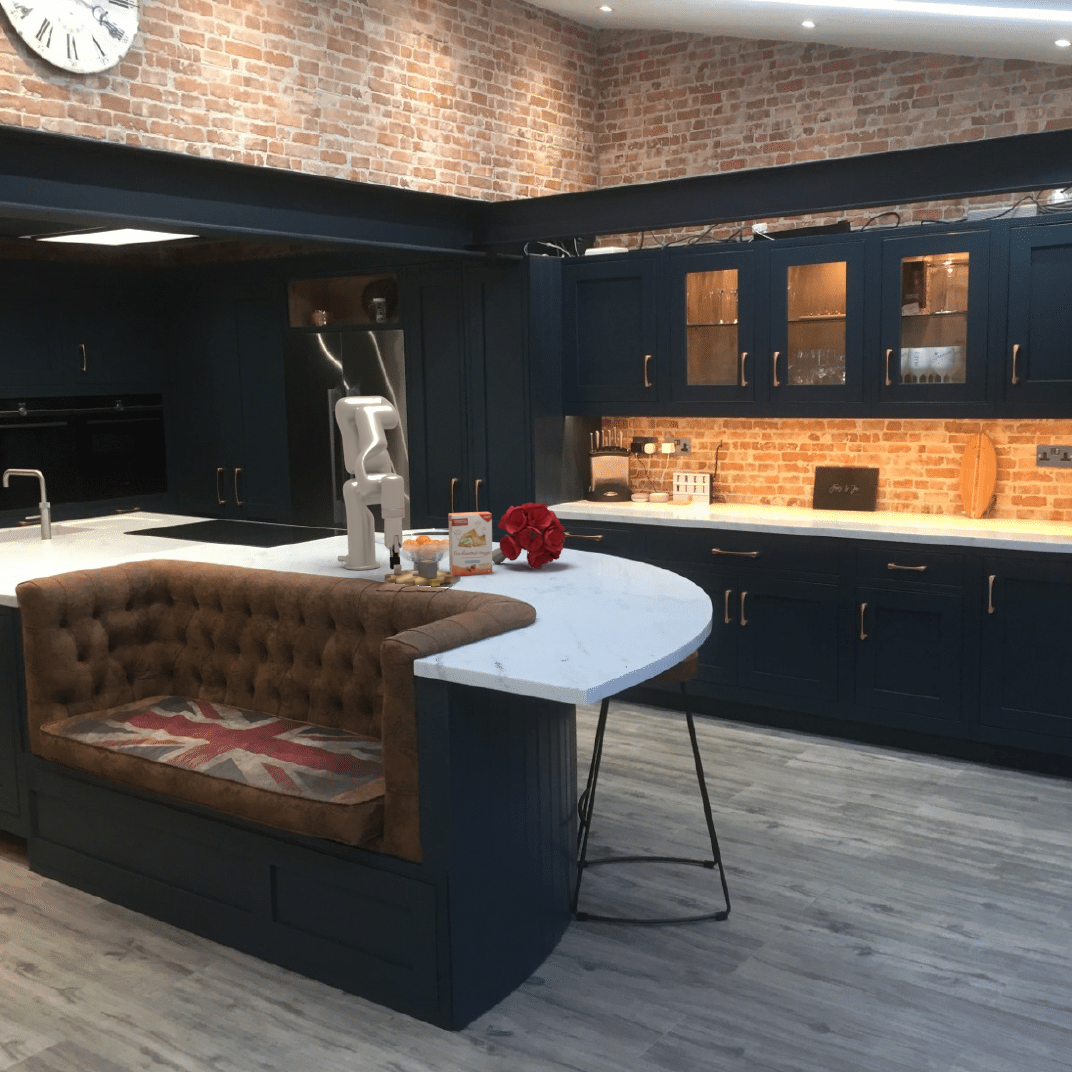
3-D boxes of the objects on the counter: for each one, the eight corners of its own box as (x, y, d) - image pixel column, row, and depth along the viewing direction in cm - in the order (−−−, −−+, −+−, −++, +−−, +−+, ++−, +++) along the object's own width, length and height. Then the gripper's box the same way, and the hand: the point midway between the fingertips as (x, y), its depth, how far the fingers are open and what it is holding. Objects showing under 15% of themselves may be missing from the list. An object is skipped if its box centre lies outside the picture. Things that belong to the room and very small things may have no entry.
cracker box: (452, 576, 393) (451, 514, 390) (449, 573, 399) (447, 512, 396) (493, 574, 397) (492, 512, 394) (489, 571, 403) (488, 510, 400)
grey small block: (418, 576, 375) (417, 560, 374) (428, 575, 377) (427, 559, 376) (427, 578, 370) (427, 562, 369) (437, 577, 372) (436, 561, 371)
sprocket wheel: (375, 587, 370) (374, 570, 369) (396, 574, 391) (395, 559, 391) (443, 588, 366) (442, 571, 365) (460, 575, 387) (460, 560, 387)
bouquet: (487, 589, 406) (549, 551, 390) (462, 527, 412) (522, 488, 395) (524, 583, 424) (585, 547, 407) (500, 525, 429) (559, 487, 412)
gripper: (378, 511, 389) (380, 566, 391) (384, 516, 374) (386, 573, 377) (401, 510, 390) (403, 564, 393) (408, 515, 376) (410, 571, 379)
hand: (395, 568), depth 385 cm, fingers closed
